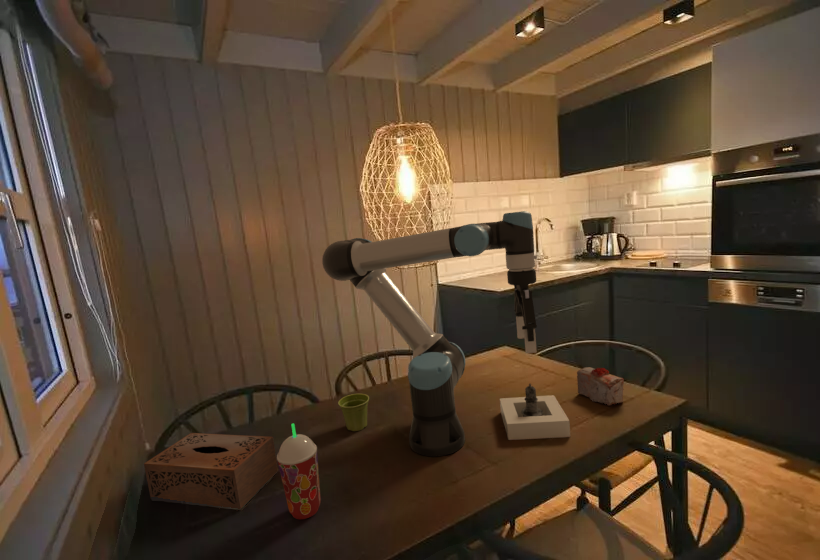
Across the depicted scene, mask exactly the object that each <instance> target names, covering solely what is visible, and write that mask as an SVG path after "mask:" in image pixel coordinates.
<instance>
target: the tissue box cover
mask: <svg viewBox="0 0 820 560" xmlns="http://www.w3.org/2000/svg"><path fill="white" fill-rule="evenodd" d="M143 467H144V471H145V476H146V481H147V486H148V491H149V496H150V498H151V497H158V498H163V499H170V500H177V501H185V502H192V503H199V504H207V505H213V506H221V507H222V506H223V507H231V508H238V509H241V508H242V507H243V506H244V505H245V504H246V503H247V502H248V501H249V500H250V499H251V498H252V497H253V496H254V495H255V494H256V492H257V491H258V490H259V489H260V488H261V487H262V486H263V485H264V484H265V483H266V482H267V481H268V480H269V479H270V478H271V477H272V476H273V475H274V474H275V473H276V472H277V471H278V472H279V466H278V461H277V455H276V449H275V441H274V437H273V436H263V435H245V434H244V435H242V434H241V435H240V434H226V433H225V434H221V433H201V432H200V433H198V432H197V433H196V432H190V433H188V434H187V435H185V436H184V437H182V438H181V439H180V440H177V442H175V443H173V444H172V445H170V446H169V447H167V448H166V449H164V450H163V451H161V452H160V453H158V454H157V455H154V456H153V457H152V458H150V459H149V460H147V461H145V462H144V463H143Z"/></svg>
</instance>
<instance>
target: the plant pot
mask: <svg viewBox="0 0 820 560" xmlns="http://www.w3.org/2000/svg"><path fill="white" fill-rule="evenodd" d="M369 400H370V396H369V395H368V394H365V393H352V394H349V395H345V396H343V397H342V398H340V399H339V400H338V401H337V404H338V406H339V407H340V410H341V411H342V414H343V420H344V422H345V425H346V429H347V431H352V432H359V431H362V430H364V428H366V427H367V426H368V405H369V402H370V401H369Z"/></svg>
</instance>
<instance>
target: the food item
mask: <svg viewBox="0 0 820 560" xmlns="http://www.w3.org/2000/svg"><path fill="white" fill-rule="evenodd" d="M576 378H577V382H576V383H577V393H578V394H579V395H582V396H585V397H587V398H589V400H592V401H591V402H596V403H597V402H598V403H600V404H603V403H604V404H605V405H606V404H607V405H606V406H613V405H612V404H614V405H618V404H622V403H623V402H624V400H623V399H624V390H625V389H624V382H625V381H624V378H623V377H620V376H616V375H614V374H610V371H609V370H608V369H606V368H605V367H596V368H593V367H587V366H586V367H583V368H581V369H578V370H577V372H576ZM617 403H618V404H617Z"/></svg>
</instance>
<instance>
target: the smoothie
mask: <svg viewBox="0 0 820 560" xmlns="http://www.w3.org/2000/svg"><path fill="white" fill-rule="evenodd" d="M291 430H292V431H291V432H292V435H290V436H288V437H287V438H286V439H285V440H283V442H282V443H281V445H280V447H279V449H278V452H277V455H276V461H277V466H278V470H279V472H280V477H281V482H282V486H283V490H284V495H285V499H286V504H287V508H288V512H289V514H291V515H292V517H293V518H295V519H297V520H306V519H308V518H311V517H313V516H314V515H315V514H317V512H318V511H319V508H320V506H321V501H322V499H321V498H322V497H321V487H320V477H319V462H318V461H319V459H318V445H316V444H315V443H314V441H313V440H312V439H311V438H309V436H308V435H305V434H301V433H297V432H296V425H295V423H291Z"/></svg>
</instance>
